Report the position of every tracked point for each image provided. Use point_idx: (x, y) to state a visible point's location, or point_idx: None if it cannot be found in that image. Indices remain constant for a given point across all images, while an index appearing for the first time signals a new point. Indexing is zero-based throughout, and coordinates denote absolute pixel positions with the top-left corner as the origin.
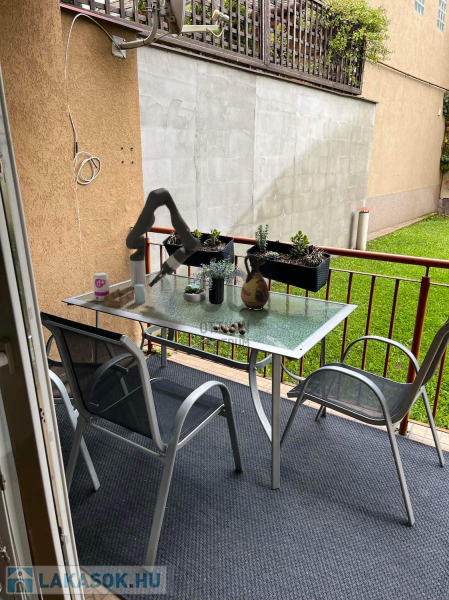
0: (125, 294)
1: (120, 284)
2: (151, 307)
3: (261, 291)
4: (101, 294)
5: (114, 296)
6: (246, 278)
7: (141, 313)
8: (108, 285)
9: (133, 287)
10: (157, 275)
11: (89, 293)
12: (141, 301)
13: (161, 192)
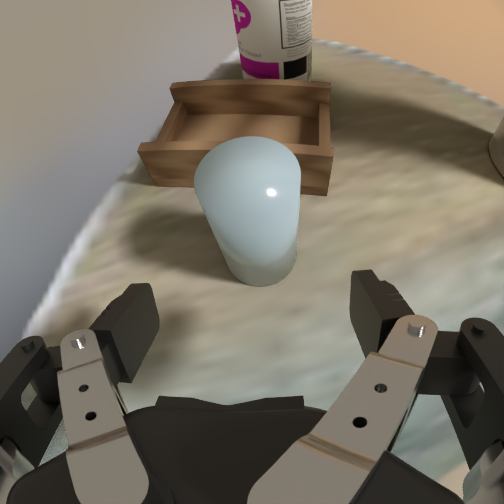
0: (217, 143)
1: (489, 101)
2: (160, 360)
3: None
4: (241, 63)
5: (265, 105)
6: None
7: (62, 321)
8: (277, 39)
9: (489, 147)
10: (386, 342)
11: (337, 43)
12: (228, 265)
13: None
